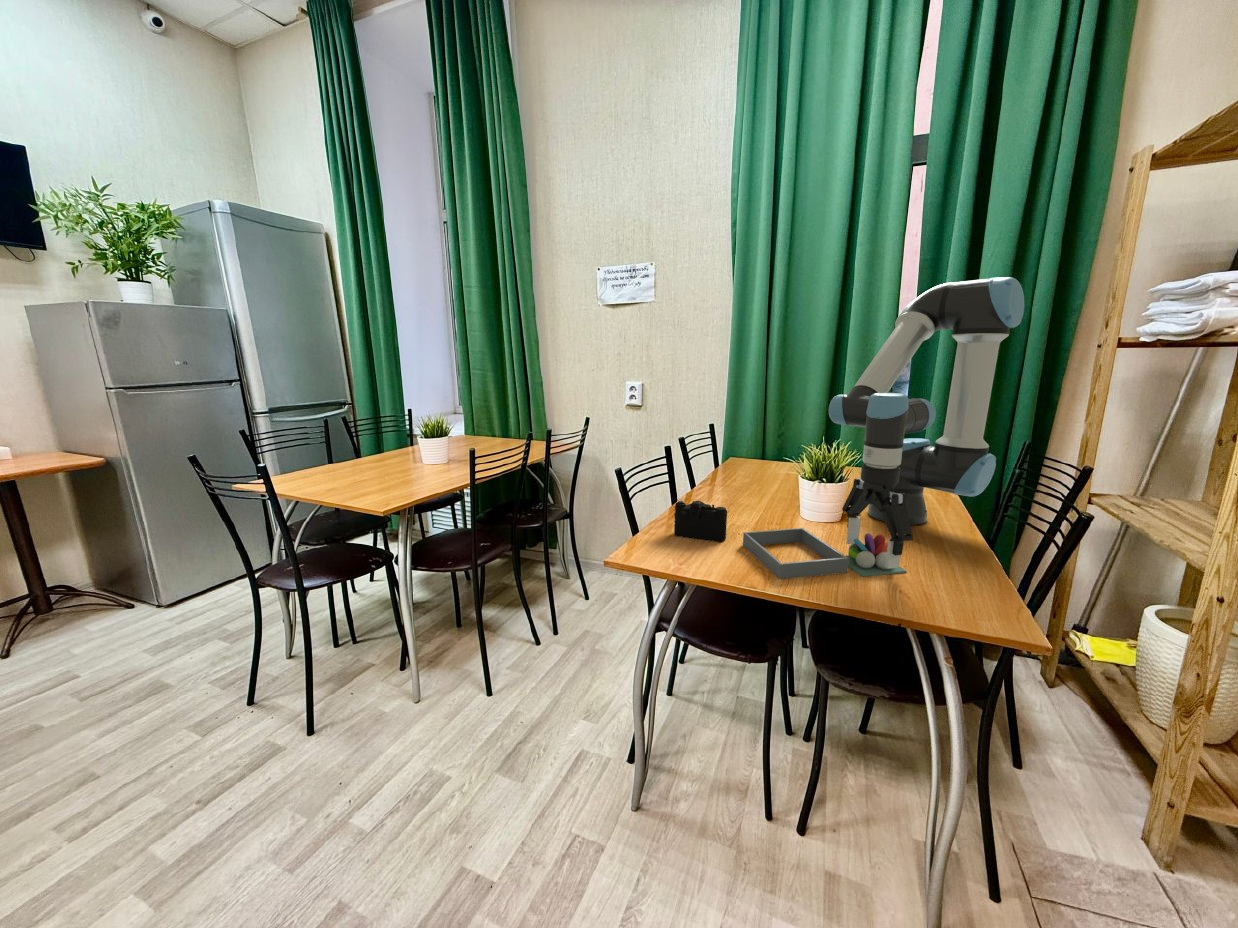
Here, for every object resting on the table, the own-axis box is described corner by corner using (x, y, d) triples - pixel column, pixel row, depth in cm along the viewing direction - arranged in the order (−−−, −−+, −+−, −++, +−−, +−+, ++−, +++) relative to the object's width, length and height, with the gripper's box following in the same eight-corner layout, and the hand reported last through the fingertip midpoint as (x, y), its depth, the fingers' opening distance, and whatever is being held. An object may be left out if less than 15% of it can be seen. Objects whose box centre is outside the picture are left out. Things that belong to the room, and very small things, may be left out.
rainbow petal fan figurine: (900, 573, 107) (904, 542, 105) (853, 570, 109) (856, 539, 107) (886, 557, 115) (889, 528, 114) (842, 554, 117) (845, 526, 115)
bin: (801, 540, 127) (802, 527, 126) (847, 572, 108) (848, 558, 108) (742, 545, 124) (743, 532, 123) (779, 579, 106) (780, 564, 105)
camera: (731, 530, 135) (733, 495, 132) (723, 544, 125) (725, 507, 123) (683, 524, 140) (683, 490, 138) (671, 536, 131) (672, 501, 128)
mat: (876, 554, 118) (876, 552, 118) (906, 572, 108) (906, 570, 108) (834, 558, 116) (834, 556, 116) (861, 576, 106) (862, 575, 106)
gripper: (831, 453, 118) (824, 535, 123) (907, 480, 94) (895, 580, 99) (859, 452, 119) (851, 533, 124) (941, 478, 95) (927, 577, 100)
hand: (871, 554), depth 112 cm, fingers open, 13 cm apart
